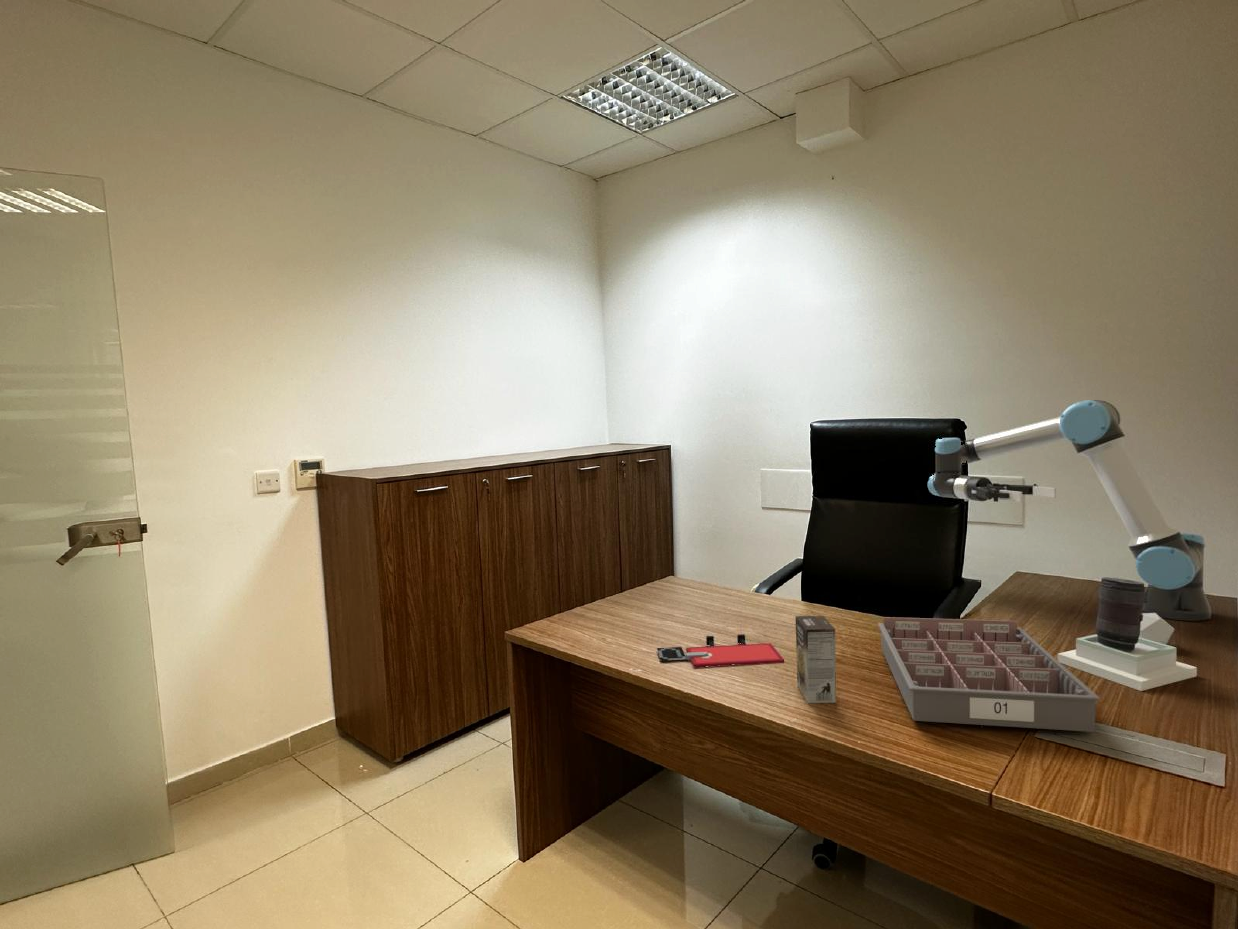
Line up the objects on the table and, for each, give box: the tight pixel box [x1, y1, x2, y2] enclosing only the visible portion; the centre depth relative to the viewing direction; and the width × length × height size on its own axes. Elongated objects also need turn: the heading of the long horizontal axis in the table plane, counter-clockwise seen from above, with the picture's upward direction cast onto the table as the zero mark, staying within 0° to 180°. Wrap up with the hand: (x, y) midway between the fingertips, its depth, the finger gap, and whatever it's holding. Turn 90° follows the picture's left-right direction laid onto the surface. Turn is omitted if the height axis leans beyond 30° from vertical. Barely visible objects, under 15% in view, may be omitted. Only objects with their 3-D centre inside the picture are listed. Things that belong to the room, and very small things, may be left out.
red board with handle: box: [656, 633, 785, 668], centre depth 167 cm, size 30×3×15 cm
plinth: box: [1057, 633, 1198, 692], centre depth 147 cm, size 18×18×6 cm
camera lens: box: [1095, 576, 1146, 651], centre depth 147 cm, size 8×8×15 cm
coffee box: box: [795, 615, 837, 704], centre depth 141 cm, size 9×6×16 cm
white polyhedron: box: [1139, 612, 1175, 645], centre depth 161 cm, size 8×9×10 cm
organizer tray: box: [877, 616, 1102, 733], centre depth 140 cm, size 32×40×10 cm
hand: (1038, 494), depth 184 cm, fingers open, 13 cm apart
